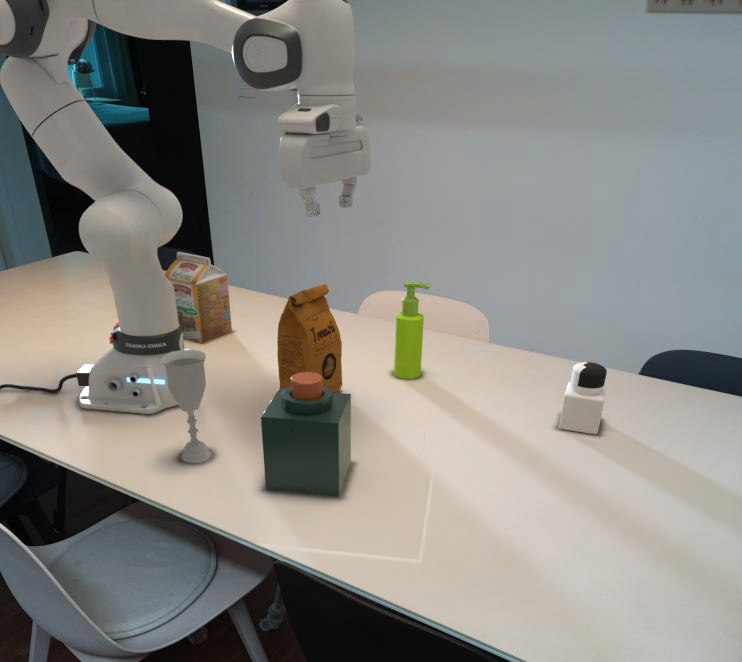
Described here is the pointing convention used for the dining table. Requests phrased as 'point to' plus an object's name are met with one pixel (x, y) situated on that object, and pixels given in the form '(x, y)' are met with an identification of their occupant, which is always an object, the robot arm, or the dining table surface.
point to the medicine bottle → (584, 398)
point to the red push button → (306, 386)
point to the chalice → (188, 394)
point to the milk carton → (200, 297)
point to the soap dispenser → (409, 335)
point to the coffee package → (309, 339)
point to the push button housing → (307, 442)
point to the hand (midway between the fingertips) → (330, 211)
